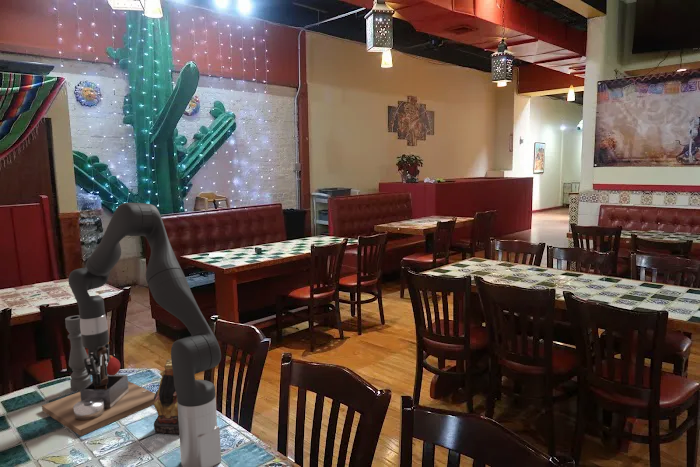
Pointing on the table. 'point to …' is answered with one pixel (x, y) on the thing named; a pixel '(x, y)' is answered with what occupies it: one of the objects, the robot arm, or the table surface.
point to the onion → (113, 366)
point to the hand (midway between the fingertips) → (100, 381)
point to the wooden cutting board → (125, 406)
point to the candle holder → (77, 355)
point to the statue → (166, 404)
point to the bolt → (102, 371)
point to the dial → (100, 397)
